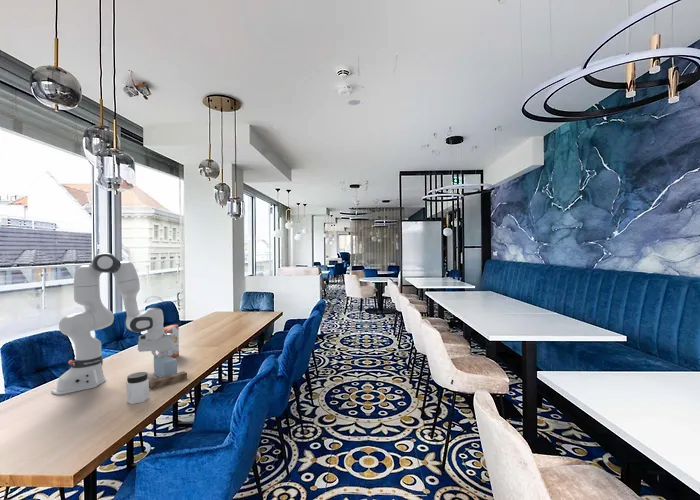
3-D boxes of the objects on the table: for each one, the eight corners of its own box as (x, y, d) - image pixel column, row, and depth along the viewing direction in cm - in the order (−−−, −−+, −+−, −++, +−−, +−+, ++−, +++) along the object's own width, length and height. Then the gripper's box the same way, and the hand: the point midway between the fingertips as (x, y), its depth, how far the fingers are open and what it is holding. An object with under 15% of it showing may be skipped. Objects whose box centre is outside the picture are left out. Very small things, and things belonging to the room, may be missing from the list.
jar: (123, 401, 161) (123, 376, 161) (141, 395, 168) (140, 370, 168) (134, 405, 157) (133, 379, 157) (152, 398, 164) (151, 373, 164)
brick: (164, 379, 190) (163, 362, 190) (154, 373, 199) (153, 358, 199) (177, 375, 195) (176, 359, 195) (166, 370, 204) (166, 355, 204)
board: (151, 389, 175) (151, 382, 175) (148, 388, 177) (148, 381, 177) (187, 379, 189) (187, 372, 189) (183, 377, 191) (183, 371, 191)
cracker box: (168, 361, 221) (167, 329, 221) (159, 361, 221) (158, 329, 221) (179, 355, 235) (179, 324, 235) (171, 355, 235) (170, 324, 235)
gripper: (176, 332, 209) (177, 355, 209) (141, 334, 208) (142, 357, 208) (171, 334, 203) (172, 358, 203) (135, 337, 202) (136, 360, 202)
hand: (157, 357), depth 205 cm, fingers closed
